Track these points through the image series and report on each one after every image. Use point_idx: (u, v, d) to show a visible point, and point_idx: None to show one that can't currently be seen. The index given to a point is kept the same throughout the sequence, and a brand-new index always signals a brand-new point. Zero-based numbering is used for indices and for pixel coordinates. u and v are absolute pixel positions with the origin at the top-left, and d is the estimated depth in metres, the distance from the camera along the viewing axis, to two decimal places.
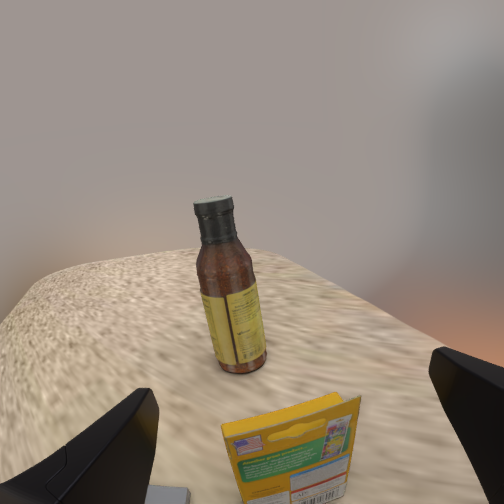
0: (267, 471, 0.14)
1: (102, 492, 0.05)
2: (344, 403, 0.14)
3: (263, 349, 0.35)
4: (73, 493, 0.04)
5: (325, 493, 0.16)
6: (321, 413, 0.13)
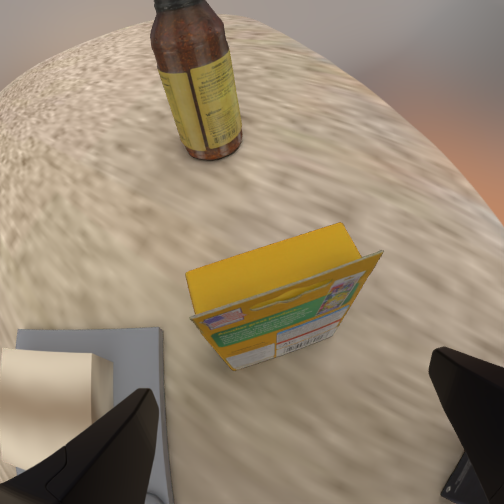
0: (249, 334, 0.13)
1: (102, 492, 0.05)
2: (360, 261, 0.10)
3: (238, 130, 0.28)
4: (73, 493, 0.04)
5: (313, 338, 0.18)
6: (328, 275, 0.10)
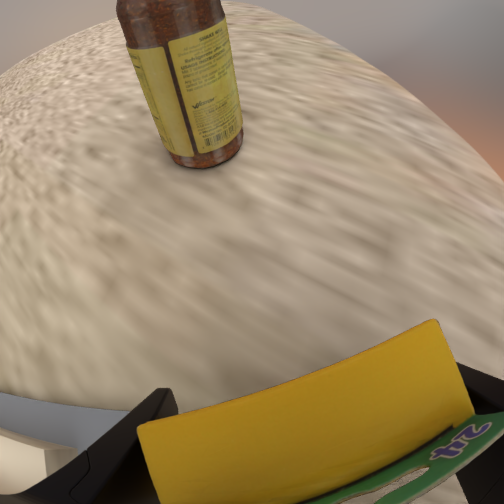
0: None
1: (127, 497, 0.05)
2: (493, 442, 0.03)
3: (238, 128, 0.21)
4: (99, 500, 0.04)
5: None
6: (434, 482, 0.03)
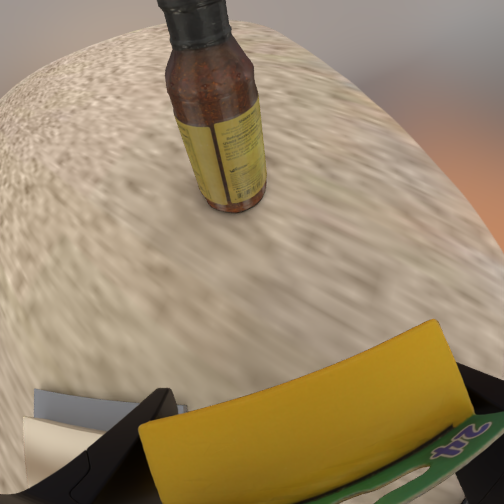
0: None
1: (127, 497, 0.05)
2: (493, 441, 0.03)
3: (263, 182, 0.26)
4: (99, 500, 0.04)
5: None
6: (435, 482, 0.03)
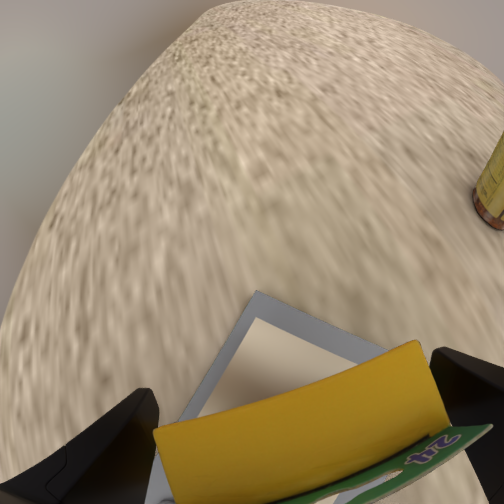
0: None
1: (102, 492, 0.05)
2: (458, 452, 0.04)
3: None
4: (73, 493, 0.04)
5: None
6: (404, 483, 0.04)
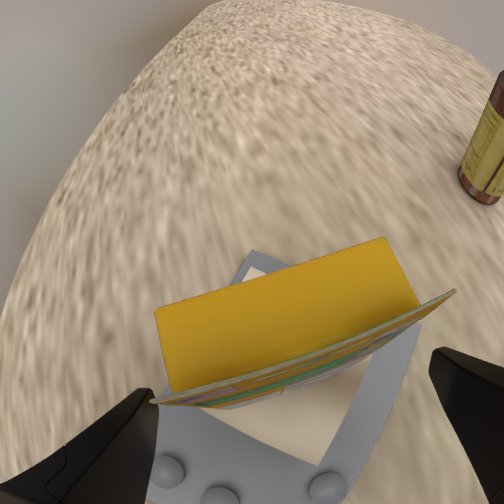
0: (247, 395, 0.09)
1: (102, 492, 0.05)
2: (426, 308, 0.06)
3: None
4: (73, 493, 0.04)
5: (329, 376, 0.14)
6: (378, 332, 0.06)
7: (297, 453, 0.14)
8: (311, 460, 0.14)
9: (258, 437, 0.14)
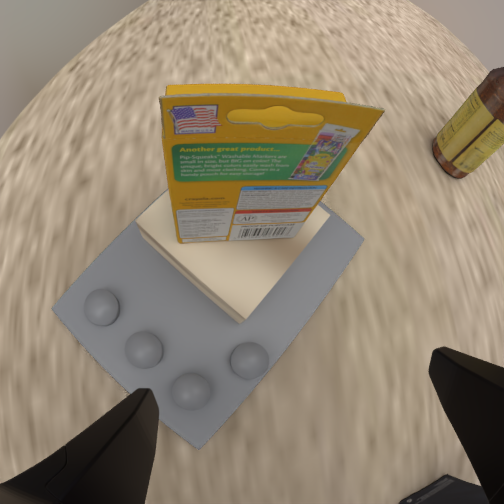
0: (212, 170, 0.11)
1: (102, 492, 0.05)
2: (359, 107, 0.09)
3: (473, 170, 0.28)
4: (73, 493, 0.04)
5: (275, 227, 0.17)
6: (322, 105, 0.09)
7: (230, 300, 0.18)
8: (241, 311, 0.18)
9: (198, 275, 0.18)
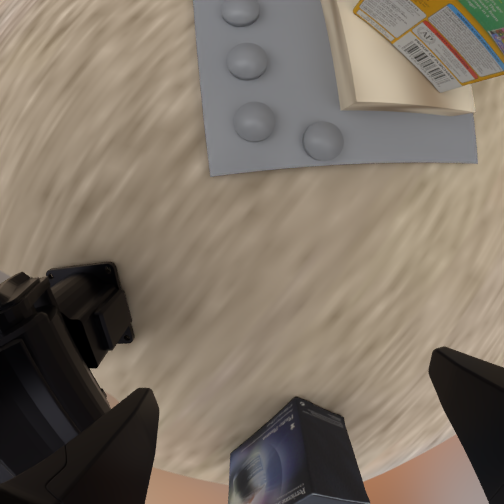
0: None
1: (102, 492, 0.05)
2: None
3: None
4: (73, 493, 0.04)
5: (438, 65, 0.12)
6: None
7: (357, 78, 0.14)
8: (358, 93, 0.14)
9: (348, 42, 0.14)
